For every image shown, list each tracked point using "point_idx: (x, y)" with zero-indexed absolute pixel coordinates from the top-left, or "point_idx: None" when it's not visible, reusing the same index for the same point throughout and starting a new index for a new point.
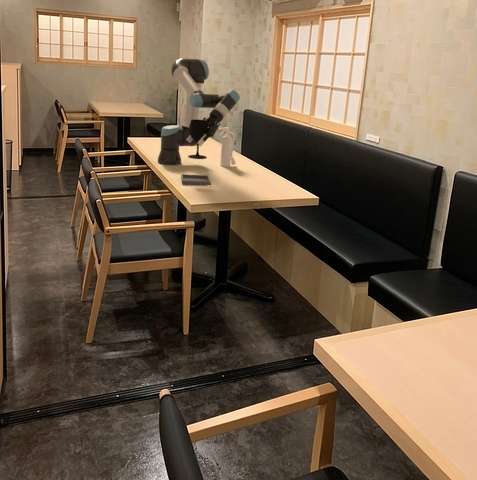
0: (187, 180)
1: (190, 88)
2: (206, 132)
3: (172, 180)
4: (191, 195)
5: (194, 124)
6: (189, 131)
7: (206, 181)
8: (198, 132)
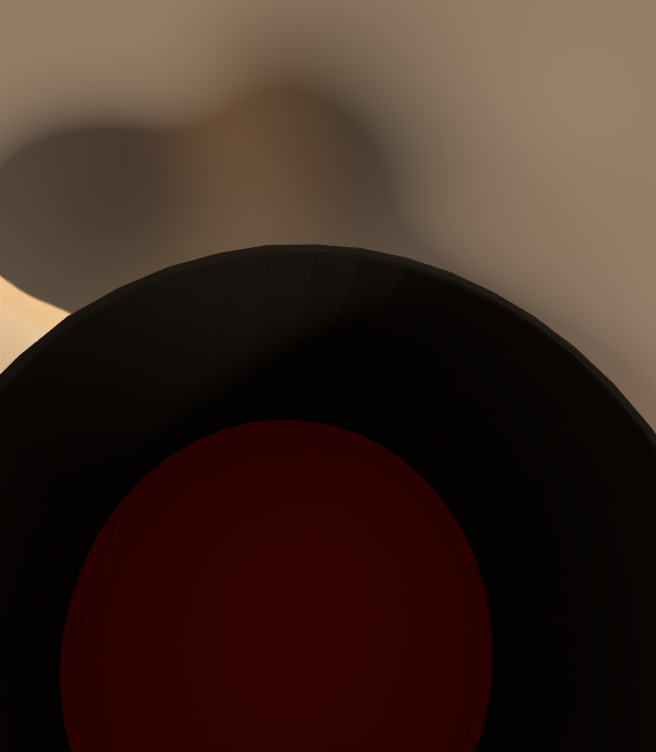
0: None
1: None
2: (8, 671)
3: None
4: (24, 336)
5: (254, 296)
6: (395, 417)
7: None
8: (138, 428)
